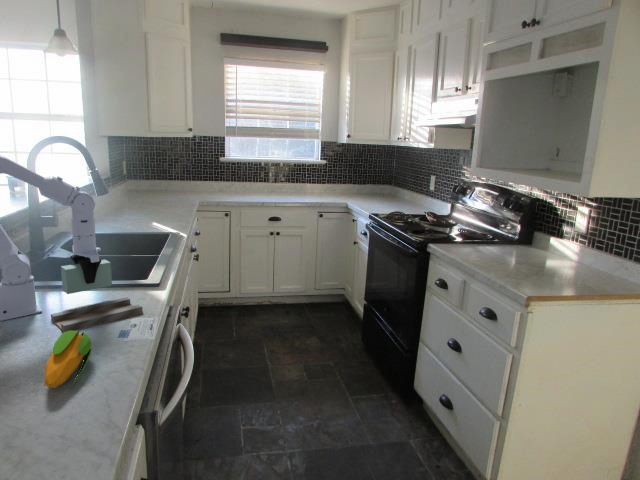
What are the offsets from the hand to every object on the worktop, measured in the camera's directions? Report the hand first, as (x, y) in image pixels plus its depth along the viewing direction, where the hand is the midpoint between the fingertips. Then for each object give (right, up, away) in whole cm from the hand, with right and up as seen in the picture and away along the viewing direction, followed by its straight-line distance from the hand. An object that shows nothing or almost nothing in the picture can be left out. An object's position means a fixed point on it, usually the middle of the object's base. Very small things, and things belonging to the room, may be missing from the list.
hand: (87, 281), depth 133 cm
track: (+7, -9, -8) cm, 14 cm away
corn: (+15, -16, -37) cm, 43 cm away
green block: (0, -2, 0) cm, 2 cm away
